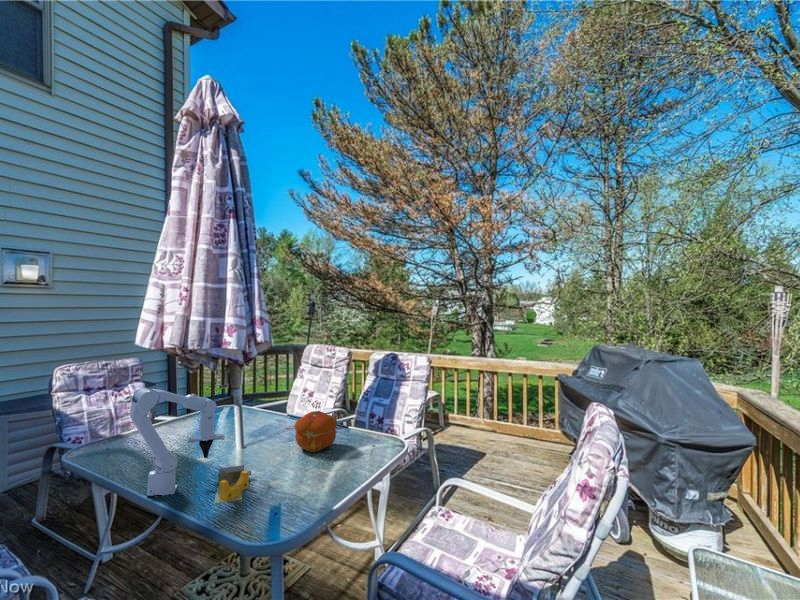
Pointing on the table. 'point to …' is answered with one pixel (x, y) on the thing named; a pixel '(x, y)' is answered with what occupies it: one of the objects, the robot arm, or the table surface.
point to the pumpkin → (315, 431)
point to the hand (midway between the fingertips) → (205, 457)
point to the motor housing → (229, 481)
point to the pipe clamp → (232, 491)
